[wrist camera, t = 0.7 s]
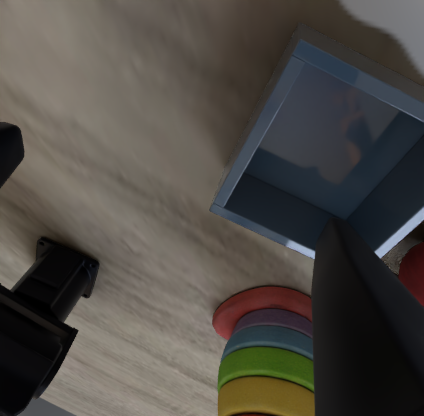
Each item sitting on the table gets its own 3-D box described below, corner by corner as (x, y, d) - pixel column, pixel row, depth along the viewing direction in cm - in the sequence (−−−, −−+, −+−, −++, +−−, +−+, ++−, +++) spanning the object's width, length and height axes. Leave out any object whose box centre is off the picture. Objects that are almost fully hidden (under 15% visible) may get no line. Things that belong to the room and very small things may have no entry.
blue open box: (346, 226, 25) (357, 280, 21) (224, 167, 24) (208, 211, 20) (459, 105, 19) (508, 146, 15) (299, 21, 18) (300, 38, 14)
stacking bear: (207, 319, 36) (149, 548, 22) (252, 265, 30) (212, 533, 16) (293, 359, 37) (292, 602, 23) (354, 315, 31) (403, 609, 17)
